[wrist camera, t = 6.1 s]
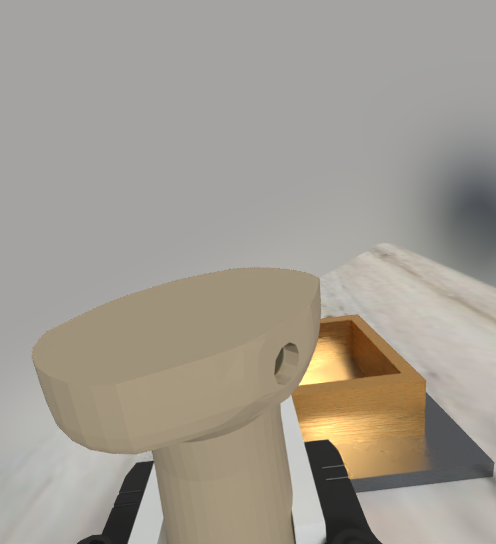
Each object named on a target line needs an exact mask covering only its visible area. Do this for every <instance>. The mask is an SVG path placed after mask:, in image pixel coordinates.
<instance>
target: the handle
mask: <svg viewBox="0 0 496 544" xmlns="http://www.w3.org/2000/svg"><path fill="white" fill-rule="evenodd" d="M320 318H321V298H320V280H319V278H318V277H316V276H314V275H312V274H309V273H306V272H301V271H296V270H289V269H280V268H237V269H228V270H224V271H218V272H213V273H208V274H203V275H198V276H193V277H188V278H184V279H180V280H176V281H172V282H168V283H165V284H161V285H159V286H155V287H152V288H149V289H146V290H143V291H139V292H136V293H133V294H130V295H127V296H124V297H121V298H118V299H116V300H113V301H110V302H108V303H106V304H103V305H101V306H99V307H96V308H94V309H92V310H90V311H88V312H86V313H84V314H82V315H79V316H78V317H75V318H73V319H71V320H69V321H67V322H65V323H63V324H61V325H59V326H57V327H55V328H53V329H51V330H49V331H47V332H46V333H45V334H44V335H43V336H42V337H41V338H40V339H39V340H38V342H37V343H36V344H35V346H34V347H33V352H32V359H33V363H34V366H35V369H36V372H37V375H38V378H39V382H40V385H41V387H42V390H43V393H44V396H45V399H46V402H47V404H48V407H49V409H50V411H51V413H52V415H53V418H54V420H55V422H56V424H57V425H58V427H59V428H60V429H61V430H62V431H63V432H64V433H65V434H66V435H67V436H68V437H69V438H70V439H71V440H72V441H74V442H76V443H78V444H80V445H82V446H84V447H86V448H88V449H90V450H95V451H100V452H106V453H112V454H139V453H143V452H147V451H150V450H152V453H153V459H154V465H155V471H156V477H157V483H158V489H159V494H160V500H161V506H162V512H163V518H164V524H165V531H166V538H167V544H295V535H294V526H293V518H292V504H293V489H292V482H291V475H290V469H289V462H288V456H287V450H286V443H285V437H284V430H283V424H282V418H281V405H280V403H282V402H283V401H285V400H286V399H288V398H289V397H290V396H291V394H292V393H293V392H294V390H295V389H296V388H297V386H298V385H299V384H300V383H301V381H302V379H303V377H304V375H305V373H306V371H307V369H308V367H309V364H310V362H311V359H312V357H313V354H314V351H315V348H316V345H317V341H318V336H319V329H320Z"/></svg>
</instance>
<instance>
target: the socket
mask: <svg viewBox="0 0 496 544" xmlns="http://www.w3.org/2000/svg"><path fill="white" fill-rule="evenodd" d="M291 396H292V400H293V404H294V407H295V411H296V415H297V419H298V422H299V426H300V430H301V434H302V438H303V441H304V442H308V441H317V440H325V439H329V441H330V442H331V443H332V444H333V445H334V446H335V447H336V448H337V449H338V450H339V453H340V455H341V458H342V460H343V463H344V466H345V468H346V470H347V473H348V475H349V479H350V480H351V483H352V485H353V488H354V491H355V493H357V492H365V491H374V490H382V489H391V488H399V487H408V486H416V485H424V484H433V483H441V482H450V481H458V480H467V479H475V478H483V477H492V476H493V470H494V462H493V461H492V460H491V459H490V457H489V456H488V455H487V454H486V453H485V452H484V451H483V450H482V449H481V448H480V447H479V446H478V445H477V444H476V443H475V442H474V441H473V440H472V439H471V438H470V437H469V436H468V435H467V434H466V433H465V432H464V431H463V430H462V429H461V428H460V427H459V426H458V425H457V424H456V423H455V422H454V420H453V419H452V418H451V417H450V416H449V415H448V414H447V413H446V412H445V411H444V410H443V409H442V408H441V407H440V406H439V405H438V404H437V403H436V402H435V401H434V400H433V399H432V398H431V397H430V396H429V395H428V394H427V393H426V380H425V379H424V378H423V377H422V376H421V375H420V374H419V373H418V372H417V371H416V370H415V369H414V368H413V367H412V366H411V365H410V364H409V363H408V362H406V361H405V360H404V359H403V358H402V357H401V356H400V355H399V354H398V353H397V352H396V351H395V350H394V349H393V348H392V347H391V346H390V345H389V344H388V343H387V342H386V341H385V340H384V339H383V338H382V337H381V336H379V335H378V334H377V333H376V332H375V331H374V330H373V329H372V328H371V327H370V326H369V325H368V324H367V323H366V322H365V321H364V320H363V319H362V318H361V317H360V316H359V315H358V314H357V315H349V316H340V317H332V318H323V319H320V329H319V336H318V341H317V345H316V348H315V351H314V354H313V357H312V359H311V362H310V364H309V367H308V369H307V371H306V373H305V375H304V377H303V379H302V381H301V383H300V384H299V385H298V386H297V388H296V389H295V390H294V392H293V393H292V394H291Z"/></svg>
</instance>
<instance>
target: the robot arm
mask: <svg viewBox="0 0 496 544" xmlns="http://www.w3.org/2000/svg"><path fill="white" fill-rule="evenodd" d="M280 405H281V418H282V424H283V430H284V437H285V443H286V450H287V456H288V462H289V469H290V475H291V482H292V489H293V504H292V518H293V526H294V535H295V544H382V543H381V542H380V541H379V540H378V539H377V538H376V537H375V535H374V534H373V533H372V531H371V529H370V527H369V525H368V523H367V521H366V518H365V516H364V513H363V511H362V508H361V506H360V503H359V501H358V498H357V496H356V493H355V491H354V488H353V485H352V483H351V480H350V479H349V475H348V473H347V470H346V468H345V466H344V463H343V460H342V458H341V455H340V453H339V450H338V449H337V448H336V447H335V446H334V445H333V444H332V443H331V442H330V441H329V439H325V440H317V441H308V442H304V441H303V438H302V434H301V430H300V426H299V422H298V419H297V415H296V411H295V407H294V404H293V400H292V396H290V397H289V398H288V399H286V400H285V401H283V402H282V403H280ZM77 544H167V538H166V531H165V524H164V518H163V512H162V506H161V500H160V494H159V489H158V483H157V477H156V471H155V465H154V461H148V462H140V463H136V464H135V465H134V467H133V468H132V469H131V470H130V472H129V473H128V474H127V475H126V477H125V479H124V481H123V484H122V486H121V489H120V491H119V495H118V496H117V498H116V501H115V503H114V508H112V511H111V513H110V515H109V518H108V520H107V523H106V525H105V528H104V530H103V532H102V534H101V535H92V536H90V537H87V538H85V539H83V540H81V541H80V542H78V543H77Z"/></svg>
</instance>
